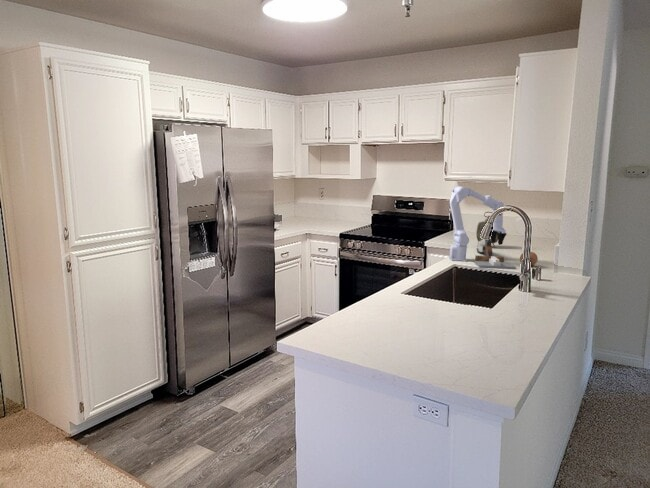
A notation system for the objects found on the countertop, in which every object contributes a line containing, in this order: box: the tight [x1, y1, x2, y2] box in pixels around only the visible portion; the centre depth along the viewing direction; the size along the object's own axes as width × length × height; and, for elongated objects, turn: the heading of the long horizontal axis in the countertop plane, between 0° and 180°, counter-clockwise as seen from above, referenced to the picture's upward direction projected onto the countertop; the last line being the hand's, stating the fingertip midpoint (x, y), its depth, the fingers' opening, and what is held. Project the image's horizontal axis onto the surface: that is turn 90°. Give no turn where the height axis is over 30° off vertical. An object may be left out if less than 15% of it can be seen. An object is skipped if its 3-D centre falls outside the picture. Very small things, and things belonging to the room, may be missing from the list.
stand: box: [473, 255, 517, 270], centre depth 270 cm, size 20×12×5 cm, turn 85°
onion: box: [519, 251, 539, 267], centre depth 272 cm, size 10×9×10 cm
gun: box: [476, 239, 494, 256], centre depth 299 cm, size 5×27×15 cm, turn 174°
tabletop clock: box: [475, 211, 500, 249], centre depth 330 cm, size 14×9×25 cm, turn 76°
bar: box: [474, 254, 505, 262], centre depth 282 cm, size 16×3×4 cm, turn 86°
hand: (496, 243), depth 287 cm, fingers open, 7 cm apart
